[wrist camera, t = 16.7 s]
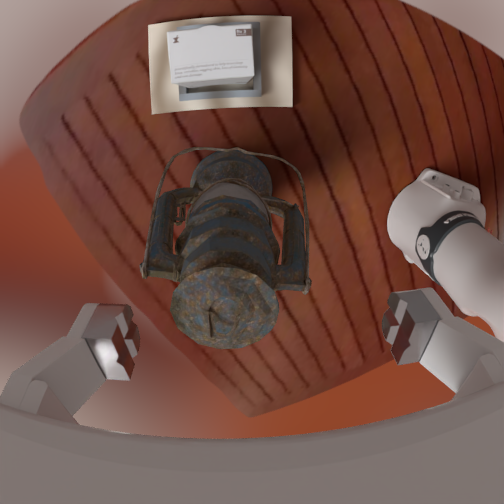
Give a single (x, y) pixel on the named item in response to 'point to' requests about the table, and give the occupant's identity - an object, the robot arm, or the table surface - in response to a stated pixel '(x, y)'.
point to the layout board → (227, 95)
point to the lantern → (227, 249)
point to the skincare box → (211, 55)
